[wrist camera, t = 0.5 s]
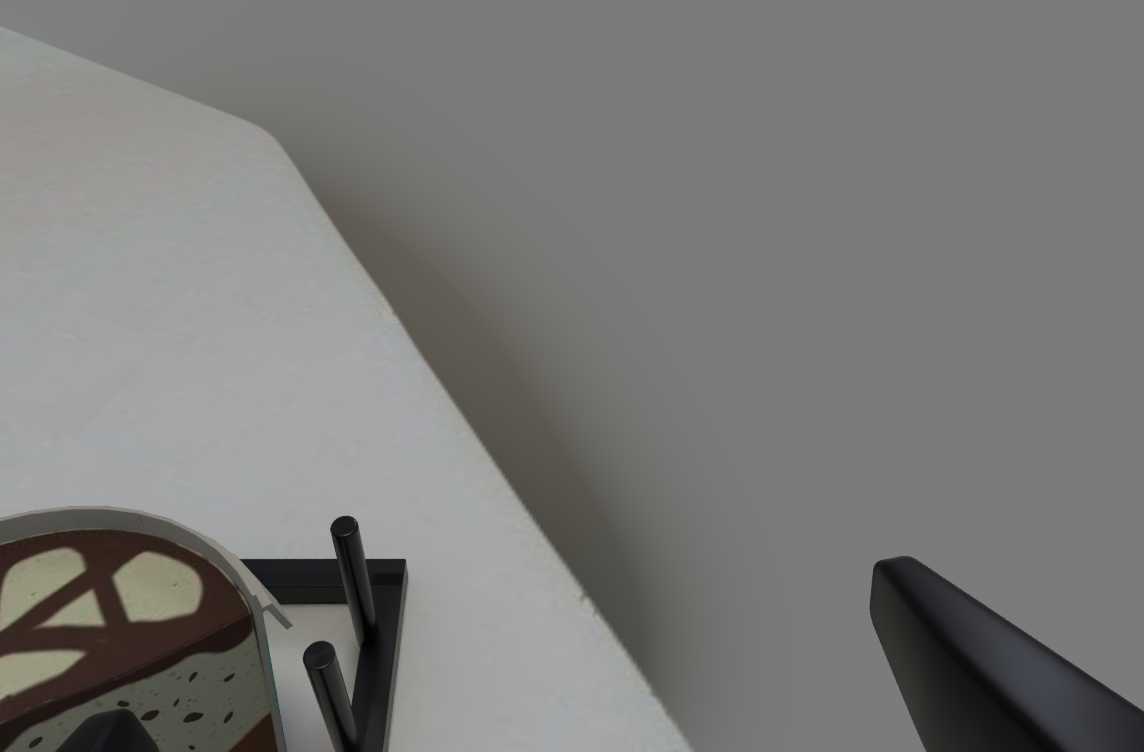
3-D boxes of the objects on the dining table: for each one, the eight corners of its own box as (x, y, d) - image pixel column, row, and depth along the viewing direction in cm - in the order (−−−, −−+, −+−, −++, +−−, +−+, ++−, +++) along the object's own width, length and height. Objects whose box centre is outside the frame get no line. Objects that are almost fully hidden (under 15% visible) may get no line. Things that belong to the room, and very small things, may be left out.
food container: (270, 604, 29) (201, 423, 22) (335, 746, 26) (278, 583, 19) (-134, 801, 24) (-390, 640, 17) (-121, 1015, 20) (-436, 923, 13)
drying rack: (352, 1051, 20) (303, 1002, 15) (-371, 1090, 19) (-706, 1051, 14) (408, 575, 31) (390, 446, 25) (-59, 576, 29) (-181, 440, 24)
